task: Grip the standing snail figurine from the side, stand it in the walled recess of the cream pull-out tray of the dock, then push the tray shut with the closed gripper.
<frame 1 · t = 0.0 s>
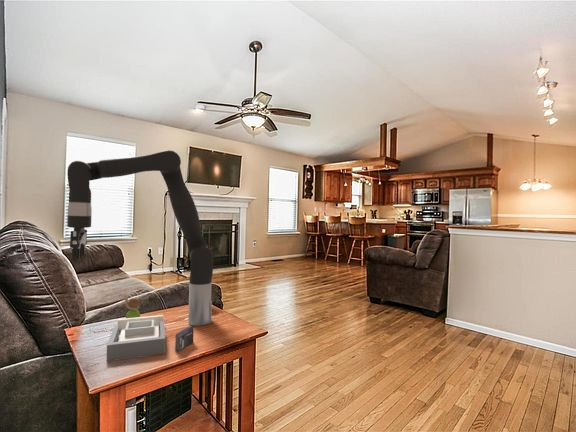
hand: (78, 257, 116), 29 cm above the table, tool pointing down, fingers open, 8 cm apart
tray: (140, 329, 118), point 2 cm above the table, slide at 8.0 cm
mini dv tape: (184, 347, 108), on the table
snail figurine: (131, 322, 131), on the table
dock: (138, 345, 109), on the table
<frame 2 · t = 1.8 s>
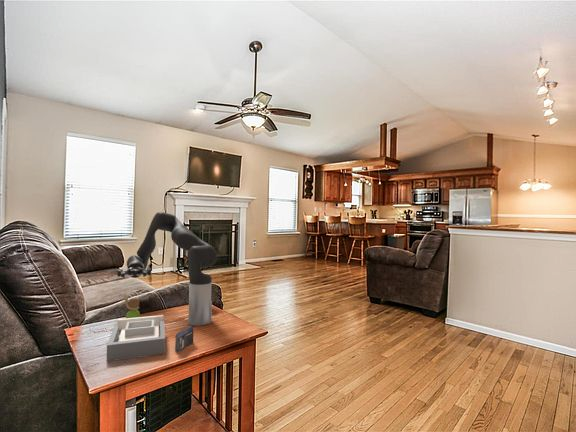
hand: (133, 275, 141), 18 cm above the table, tool horizontal, fingers open, 8 cm apart
nothing on the table moved.
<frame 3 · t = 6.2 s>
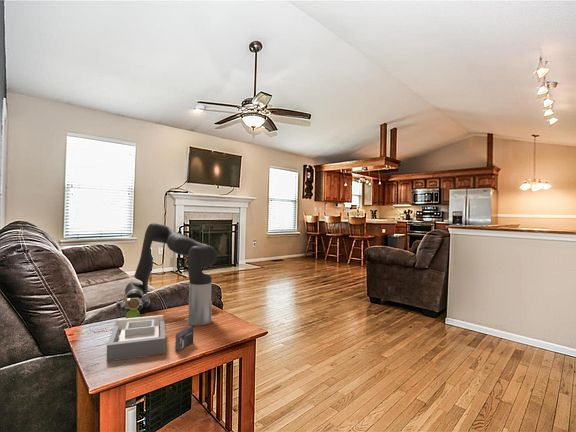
hand: (131, 308, 129), 7 cm above the table, tool horizontal, fingers closed on snail figurine, 5 cm apart
snail figurine: (131, 322, 131), on the table, touching gripper
everything else where it was.
when the fingers open (9 cm above the table, at t = 11.9 s): snail figurine drops 1 cm, resting on tray.
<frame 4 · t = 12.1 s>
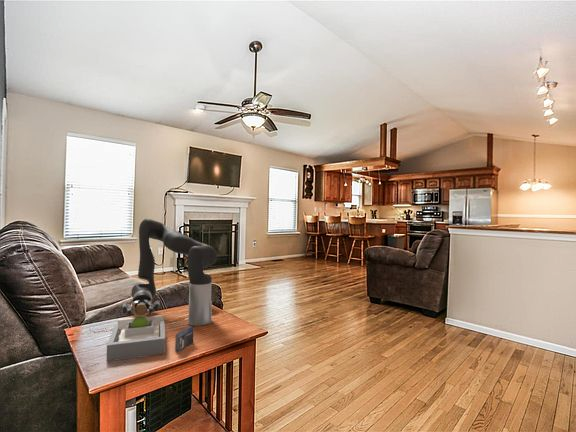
hand: (140, 312, 116), 9 cm above the table, tool horizontal, fingers open, 6 cm apart
tray: (140, 329, 118), point 2 cm above the table, slide at 8.0 cm, touching snail figurine
snail figurine: (138, 331, 118), point 1 cm above the table, touching gripper, tray
everything else where it was.
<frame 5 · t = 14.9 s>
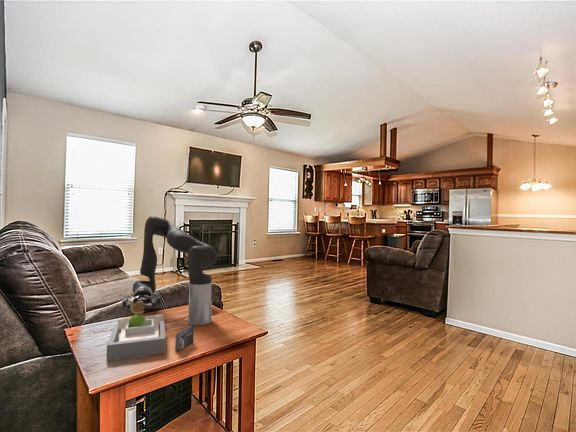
hand: (141, 305, 124), 9 cm above the table, tool horizontal, fingers open, 8 cm apart
tray: (140, 328, 118), point 2 cm above the table, slide at 9.0 cm, touching snail figurine
snail figurine: (135, 329, 119), point 2 cm above the table, touching tray
everything else where it was.
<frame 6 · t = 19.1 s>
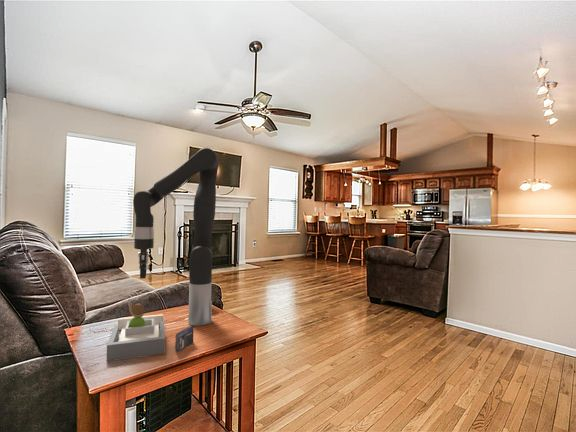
hand: (143, 276, 132), 19 cm above the table, tool pointing down, fingers open, 5 cm apart
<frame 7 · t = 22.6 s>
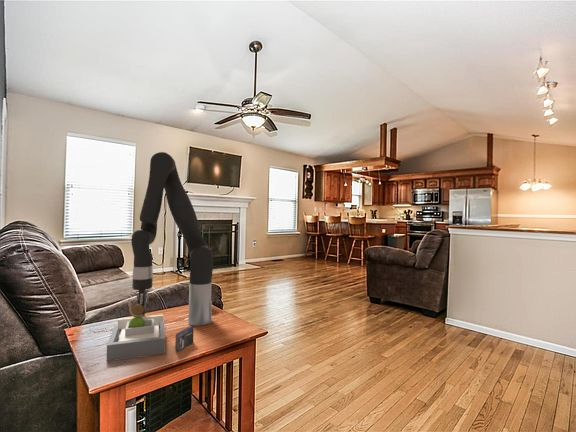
hand: (141, 318, 128), 3 cm above the table, tool pointing down, fingers closed
tray: (140, 328, 118), point 2 cm above the table, slide at 8.6 cm, touching gripper, snail figurine
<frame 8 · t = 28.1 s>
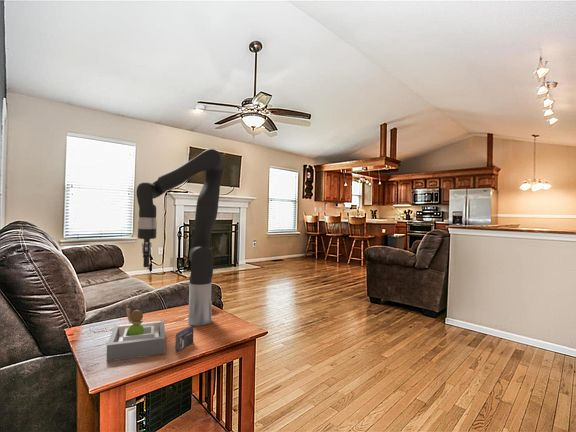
hand: (146, 266, 136), 23 cm above the table, tool pointing down, fingers closed
tray: (138, 336, 111), point 2 cm above the table, slide at 0.5 cm, touching snail figurine
snail figurine: (134, 339, 111), point 1 cm above the table, touching tray
everything else where it was.
at the end: tray slide at 0.5 cm; snail figurine inside the target area on the dock (3.1 cm from its centre), point 1.2 cm above the dock's base; snail figurine tilted 0° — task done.
